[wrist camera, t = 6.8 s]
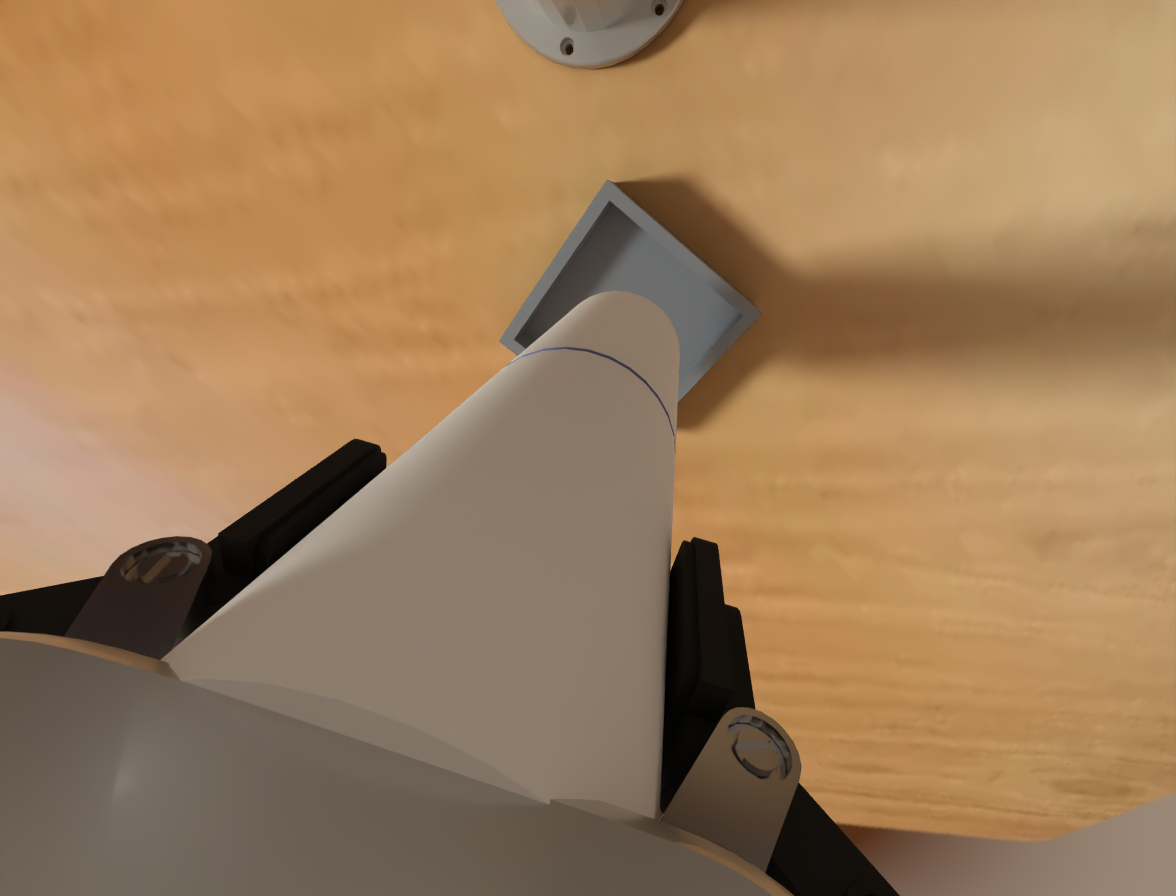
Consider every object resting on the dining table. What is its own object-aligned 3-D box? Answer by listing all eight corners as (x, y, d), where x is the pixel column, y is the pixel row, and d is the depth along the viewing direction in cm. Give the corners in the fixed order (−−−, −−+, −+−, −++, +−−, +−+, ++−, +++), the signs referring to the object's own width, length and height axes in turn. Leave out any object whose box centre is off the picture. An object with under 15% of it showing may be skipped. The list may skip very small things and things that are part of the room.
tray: (614, 182, 32) (607, 179, 29) (754, 304, 34) (761, 313, 31) (513, 330, 38) (498, 341, 35) (638, 429, 40) (635, 447, 37)
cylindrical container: (706, 357, 27) (797, 988, 5) (616, 435, 30) (427, 1046, 8) (616, 261, 26) (206, 548, 4) (531, 354, 29) (29, 813, 7)
